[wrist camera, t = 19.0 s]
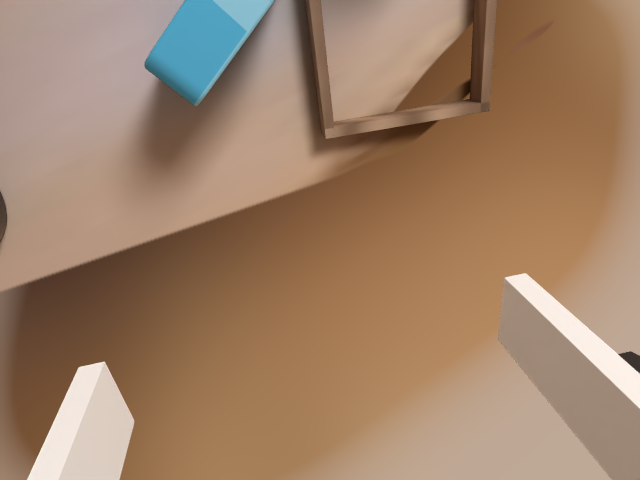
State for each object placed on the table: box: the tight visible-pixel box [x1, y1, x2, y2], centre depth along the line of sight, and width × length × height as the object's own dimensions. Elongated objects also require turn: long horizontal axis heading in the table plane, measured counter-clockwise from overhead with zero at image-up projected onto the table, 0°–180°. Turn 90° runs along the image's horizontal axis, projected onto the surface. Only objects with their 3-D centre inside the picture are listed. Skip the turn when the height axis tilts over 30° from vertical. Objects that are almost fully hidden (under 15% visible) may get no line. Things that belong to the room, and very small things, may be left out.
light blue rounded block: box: [145, 0, 275, 106], centre depth 34 cm, size 12×4×12 cm, turn 139°
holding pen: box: [305, 0, 497, 139], centre depth 42 cm, size 18×16×2 cm
